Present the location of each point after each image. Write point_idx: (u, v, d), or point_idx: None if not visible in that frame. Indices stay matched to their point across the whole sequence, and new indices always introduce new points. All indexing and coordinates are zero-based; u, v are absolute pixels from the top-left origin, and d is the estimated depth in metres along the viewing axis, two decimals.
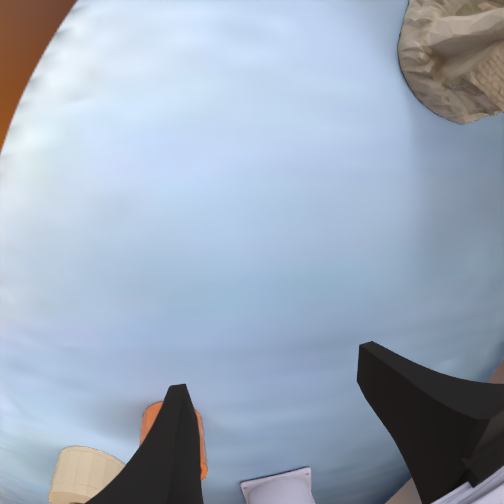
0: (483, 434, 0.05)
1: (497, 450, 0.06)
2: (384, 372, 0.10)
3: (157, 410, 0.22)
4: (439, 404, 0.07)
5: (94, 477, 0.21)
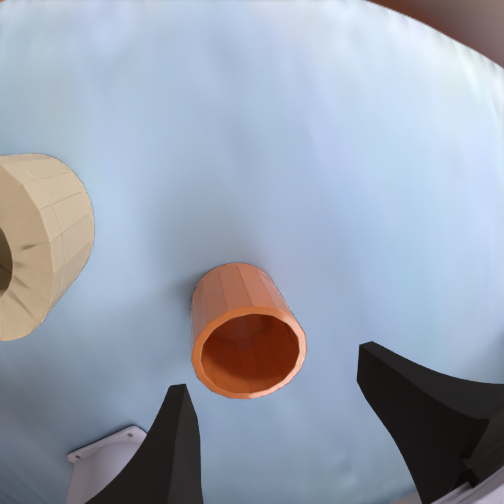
0: (483, 434, 0.05)
1: (497, 450, 0.06)
2: (384, 372, 0.10)
3: (271, 280, 0.18)
4: (439, 404, 0.07)
5: (72, 236, 0.13)
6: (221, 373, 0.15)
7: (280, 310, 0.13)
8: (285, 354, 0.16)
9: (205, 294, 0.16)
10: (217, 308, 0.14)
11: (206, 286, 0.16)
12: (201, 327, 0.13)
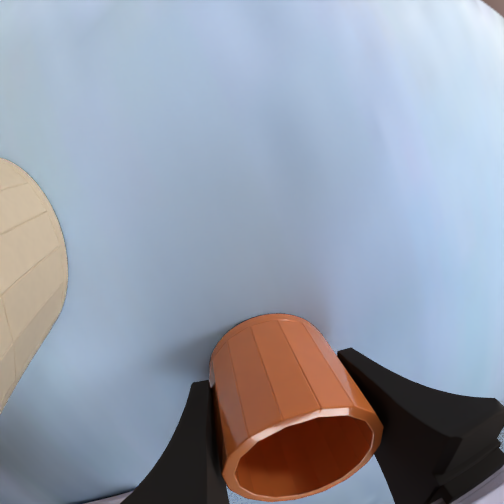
0: (456, 452, 0.05)
1: (475, 466, 0.06)
2: (360, 380, 0.10)
3: (324, 338, 0.12)
4: (412, 417, 0.07)
5: (24, 292, 0.07)
6: (258, 468, 0.10)
7: (359, 407, 0.08)
8: (344, 440, 0.10)
9: (236, 371, 0.10)
10: (263, 408, 0.08)
11: (235, 355, 0.11)
12: (237, 436, 0.08)
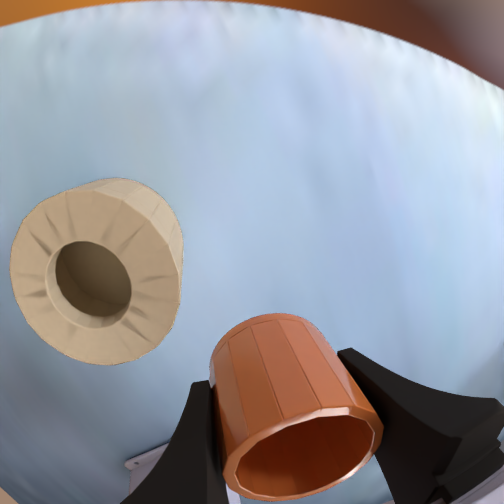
0: (456, 452, 0.05)
1: (475, 466, 0.06)
2: (360, 380, 0.10)
3: (324, 337, 0.12)
4: (412, 417, 0.07)
5: (181, 264, 0.15)
6: (258, 468, 0.10)
7: (359, 406, 0.08)
8: (345, 440, 0.10)
9: (236, 370, 0.10)
10: (264, 408, 0.08)
11: (235, 355, 0.11)
12: (238, 436, 0.08)
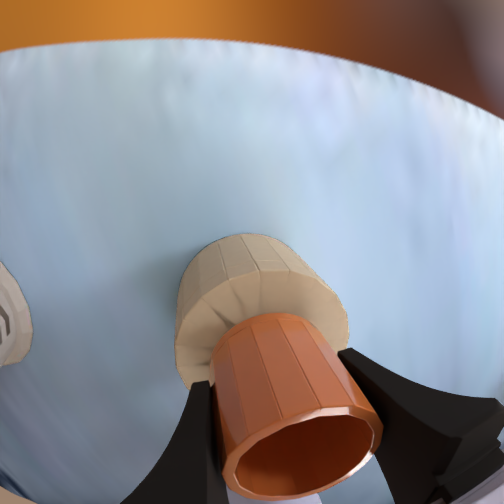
0: (455, 452, 0.05)
1: (475, 466, 0.06)
2: (360, 380, 0.10)
3: (324, 337, 0.12)
4: (412, 417, 0.07)
5: None
6: (258, 468, 0.10)
7: (359, 406, 0.08)
8: (344, 440, 0.10)
9: (235, 370, 0.10)
10: (263, 407, 0.08)
11: (235, 354, 0.11)
12: (237, 435, 0.08)
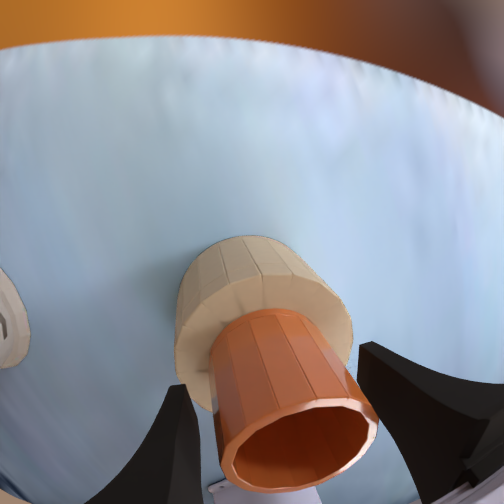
0: (483, 434, 0.05)
1: (497, 450, 0.06)
2: (384, 372, 0.10)
3: None
4: (439, 404, 0.07)
5: None
6: (256, 460, 0.10)
7: (354, 398, 0.08)
8: (341, 433, 0.10)
9: (234, 363, 0.10)
10: (261, 398, 0.08)
11: (233, 348, 0.11)
12: (235, 426, 0.08)
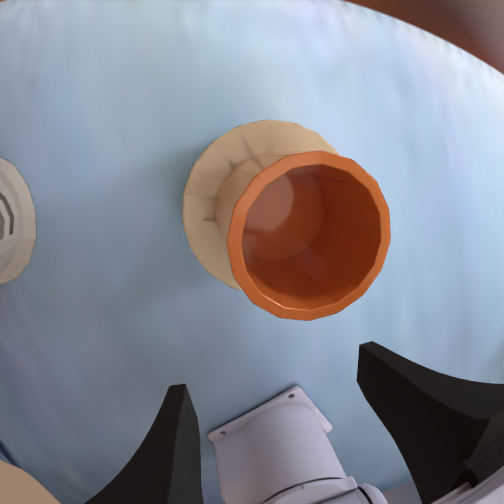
0: (483, 434, 0.05)
1: (497, 450, 0.06)
2: (384, 372, 0.10)
3: None
4: (439, 404, 0.07)
5: None
6: (265, 284, 0.11)
7: (358, 165, 0.09)
8: (354, 257, 0.11)
9: (242, 170, 0.11)
10: (269, 162, 0.09)
11: (242, 166, 0.12)
12: (245, 186, 0.09)
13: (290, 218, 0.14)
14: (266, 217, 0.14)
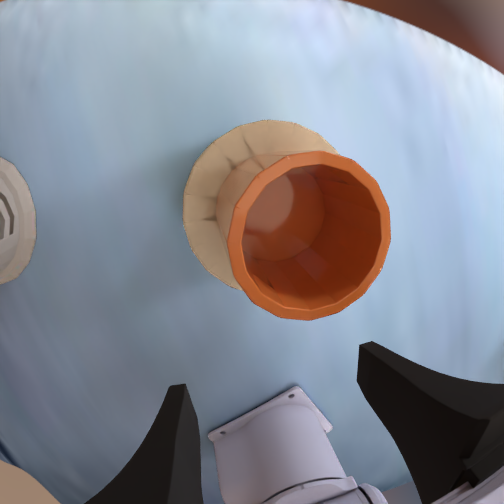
0: (483, 434, 0.05)
1: (497, 450, 0.06)
2: (384, 372, 0.10)
3: None
4: (439, 404, 0.07)
5: None
6: (265, 284, 0.11)
7: (359, 165, 0.09)
8: (354, 257, 0.11)
9: (243, 170, 0.11)
10: (269, 161, 0.09)
11: (242, 166, 0.12)
12: (245, 186, 0.09)
13: (290, 218, 0.14)
14: (266, 217, 0.14)
